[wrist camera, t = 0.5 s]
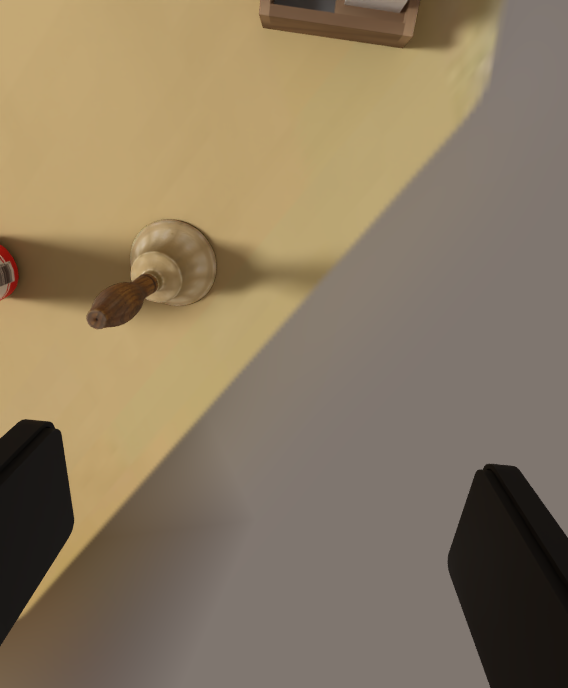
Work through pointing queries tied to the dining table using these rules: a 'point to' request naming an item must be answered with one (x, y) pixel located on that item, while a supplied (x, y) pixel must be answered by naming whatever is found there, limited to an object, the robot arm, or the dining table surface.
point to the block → (378, 4)
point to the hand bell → (158, 273)
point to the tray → (341, 20)
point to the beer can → (7, 273)
